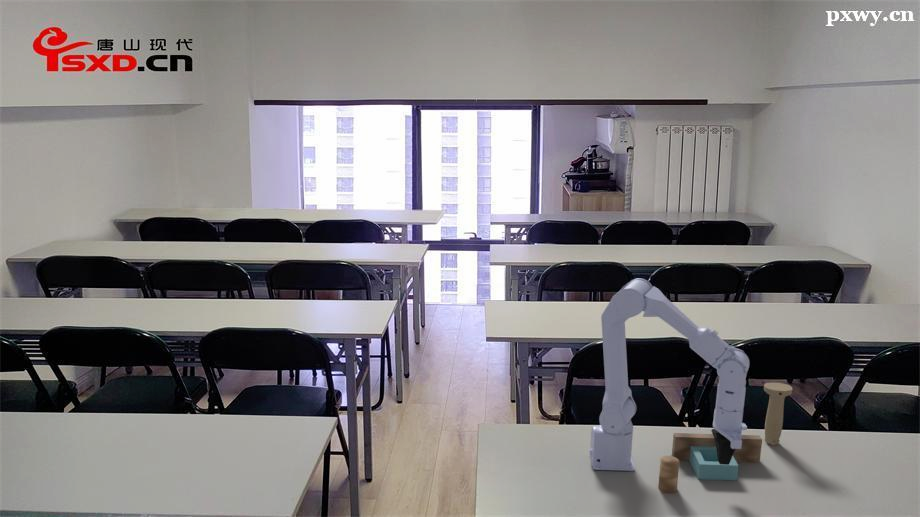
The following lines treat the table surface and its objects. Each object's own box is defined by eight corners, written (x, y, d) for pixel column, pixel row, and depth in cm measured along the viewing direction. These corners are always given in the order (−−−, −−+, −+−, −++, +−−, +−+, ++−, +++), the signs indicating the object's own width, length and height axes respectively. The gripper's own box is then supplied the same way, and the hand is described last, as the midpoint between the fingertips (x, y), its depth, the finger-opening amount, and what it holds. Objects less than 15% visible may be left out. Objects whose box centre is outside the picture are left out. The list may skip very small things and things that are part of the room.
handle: (787, 448, 197) (794, 391, 193) (760, 446, 198) (766, 390, 194) (782, 439, 202) (789, 383, 198) (755, 437, 202) (762, 381, 198)
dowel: (660, 493, 177) (662, 464, 175) (656, 483, 181) (658, 455, 179) (678, 494, 177) (681, 465, 175) (674, 484, 181) (677, 456, 179)
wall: (673, 460, 191) (675, 436, 190) (671, 455, 193) (673, 432, 191) (759, 462, 190) (762, 439, 189) (756, 458, 192) (759, 435, 191)
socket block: (698, 479, 183) (699, 464, 182) (689, 460, 191) (690, 445, 190) (736, 480, 182) (738, 465, 181) (726, 461, 191) (727, 447, 190)
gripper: (759, 421, 167) (752, 480, 171) (738, 392, 181) (732, 447, 185) (724, 420, 167) (718, 479, 171) (706, 391, 181) (701, 446, 185)
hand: (723, 462), depth 178 cm, fingers closed
